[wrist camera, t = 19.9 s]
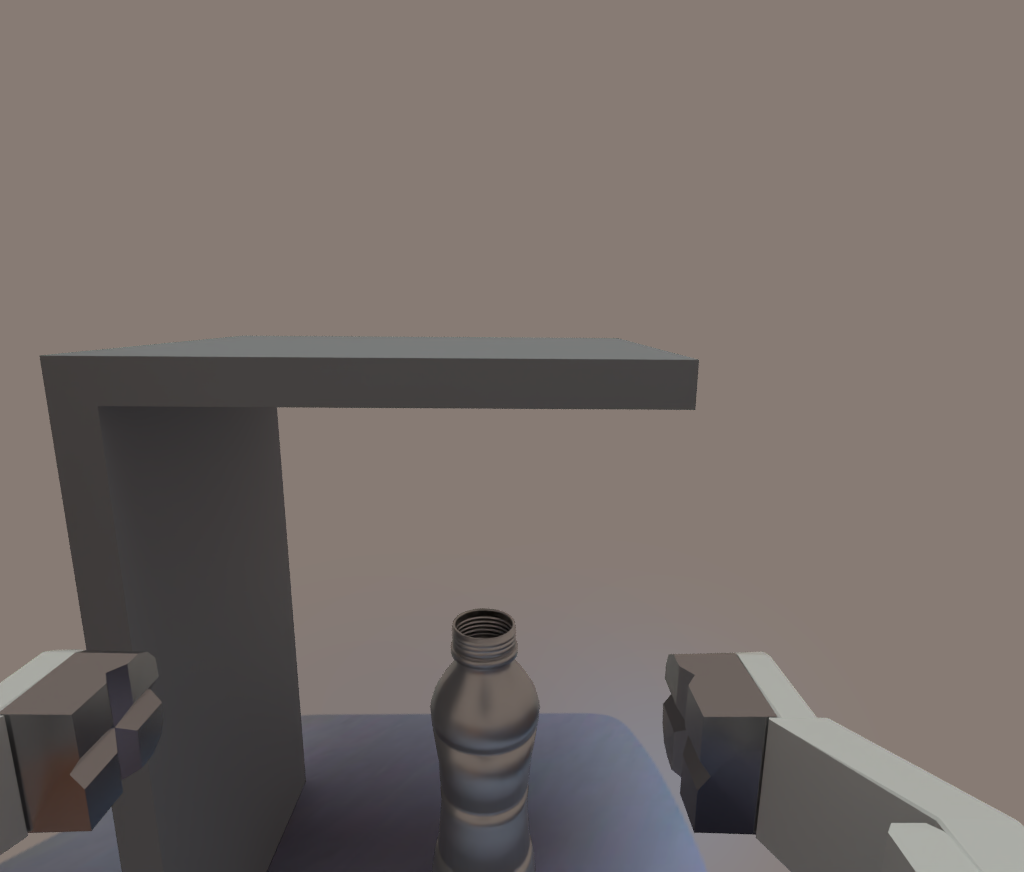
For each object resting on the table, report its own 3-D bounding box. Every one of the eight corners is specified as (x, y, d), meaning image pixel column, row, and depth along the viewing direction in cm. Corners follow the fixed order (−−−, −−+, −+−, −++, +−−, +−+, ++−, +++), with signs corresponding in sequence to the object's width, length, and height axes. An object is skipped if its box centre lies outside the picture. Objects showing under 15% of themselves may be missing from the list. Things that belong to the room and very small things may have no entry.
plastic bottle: (454, 846, 43) (450, 590, 38) (546, 871, 41) (552, 605, 37) (415, 934, 37) (405, 642, 32) (520, 969, 35) (524, 664, 31)
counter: (150, 1050, 31) (39, 355, 23) (281, 781, 48) (242, 335, 41) (648, 1051, 31) (698, 359, 23) (598, 782, 48) (617, 338, 41)
